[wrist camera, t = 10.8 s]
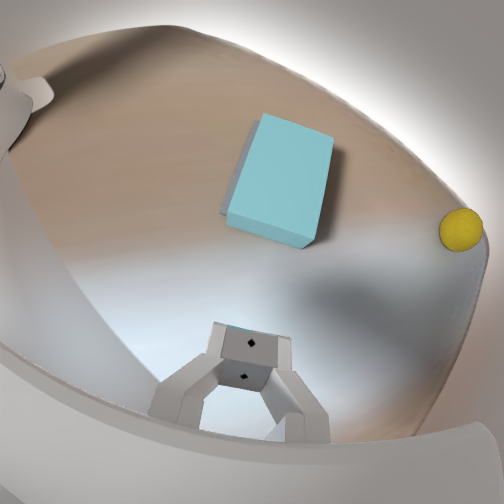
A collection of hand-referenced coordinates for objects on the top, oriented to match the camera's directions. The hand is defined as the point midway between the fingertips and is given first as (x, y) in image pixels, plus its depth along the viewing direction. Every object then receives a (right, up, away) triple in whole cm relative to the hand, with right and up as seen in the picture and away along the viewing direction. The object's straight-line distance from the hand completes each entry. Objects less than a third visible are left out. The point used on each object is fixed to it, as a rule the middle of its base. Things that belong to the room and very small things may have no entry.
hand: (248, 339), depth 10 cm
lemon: (+27, +5, +21) cm, 35 cm away
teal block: (+2, +5, +15) cm, 16 cm away
